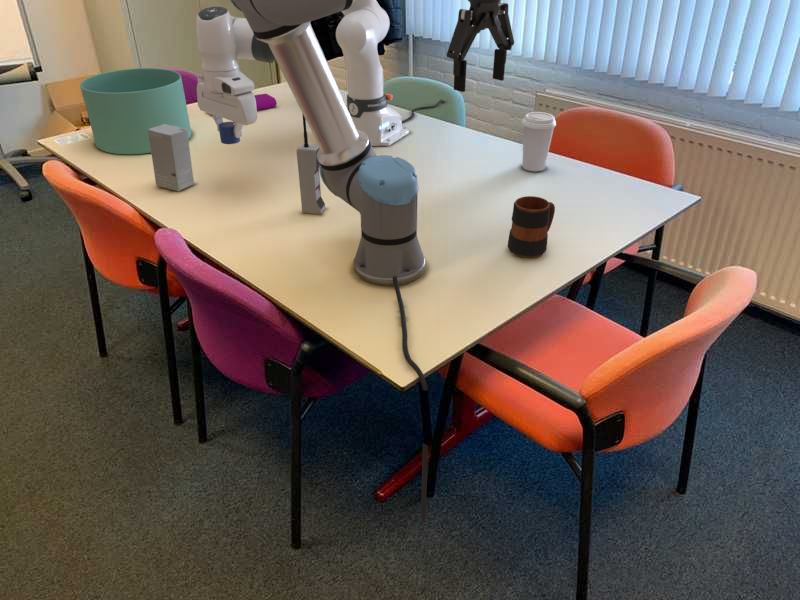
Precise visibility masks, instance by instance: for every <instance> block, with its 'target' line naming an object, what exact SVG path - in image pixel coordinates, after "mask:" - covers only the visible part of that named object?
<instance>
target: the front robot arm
mask: <svg viewBox="0 0 800 600" xmlns="http://www.w3.org/2000/svg"><path fill="white" fill-rule="evenodd" d="M229 1H230V3H232V5H233V7H235V8H236V9H237V10H238V11H240V12H242V14H243V15H244V18H246V20H247V22H248V24H249V26H250V27H251V29H252V31H253V33H254V35H255V37H256V39H257V40H260V41H263V42H265V43H268V45H269V47H270V49H271V51H272V53H273V55H274V57H275V59H276V61H275V62H276V63H277V64H278V67H279V68H280V71H281V73H282V75H283V77H284V78H285V81H286V84H287V85H288V87H289V89H290V91H291V93H292V95H293V97H294V99H295V101H296V103H297V105H298V107H299V109H300V111H301V114H302V113H303V115H304V117H305V120H306V124H307V126H308V127H309V129H310V131H311V133H312V135H313V137H314V140H315V142H316V143H317V145H319V147H320V148H319V151H318V153H317V159H318V161H319V163H320V165H319V177H320V179H321V181H322V182H323V184H324V185H325V187H326V188H327V189H328V191H329V192H330V193H331V194H333V195H334V196H335V197H338V198H339V199H340V200H342V201H344V202H345V203H346V204H347V205H349V206H350V207H352V208H353V209H354V210H355V211H357V212H358V213H359V214H360V239H359V242H358V247H357V249H356V252H355V256H354V259H353V270H354V273H355V275H356V276H357V277H358V278H359V279H360V280H362V281H364V282H366V283H369V284H370V285H371V284H372V285H376V286H382V287H394V291H395V295H396V299H397V303H398V304H397V305H398V308H399V315H400V322H401V335H402V336H401V337H402V339H401V344H402V345H401V346H402V352H403V353H402V354H403V356H404V359H405V361H406V362H407V364H408V365H409V367H411V368H412V369H413V371H414V372H415V373H416V375H417V377H418V379H419V382H420V385H421V390H422V391H424V392H425V391H426V392H427V390H428V384H427V380H426V378H425V375H424V373H423V371H422V369H421V368H420V367H419V366H418V364H416V363H415V362H414V360H413V359H412V357H411V356H410V353H409V348H408V328H407V327H408V326H407V318H406V312H405V311H406V310H405V306H404V301H403V297H402V293H401V290H400V289H401V288H400V286H402V285H406V284H410V283H413V282H415V281H417V280H418V279H420V278H421V276H423V274H424V273H425V270H426V258H425V255H424V252H423V250H422V247H421V244H420V241H419V238H418V195H419V194H418V193H419V189H420V188H419V187H420V186H419V181H418V173H417V170H416V168H415V167H414V166H413V164H412V163H410V162H409V161H407V160H406V159H404V158H401V157H398V156H396V157H393V155H385V154H384V155H383V154H382V155H381V154H380V155H377V154H376V152H375V150H374V146H372V145H371V143H370V141H369V138H368V136H367V134H366V133H364V132H362V131H358V130H357V129H356V127H355V124H354V122H353V120H352V118H351V115H350V113H349V111H348V107H347V103H346V101H345V99H344V97H343V95H342V92H341V90H340V88H339V86H338V83H337V81H336V79H335V77H334V74H333V72H332V70H331V67H330V65H329V63H328V60H327V59H326V57H325V54H324V51H323V49H322V47H321V45H320V43H319V40H318V38H317V36H316V33H315V31H314V29H313V27H312V24H311V22H313V21H316V20H319V19H322V18H325V17H329V16H331V15H333V14H337V13H340V12H342V11H343V10H347V9H349V8H351V7H352V5H353V3H354V1H355V0H229ZM467 1H468V3H469V9H464V8H459V10H458V16H457V22H456V25H455V28H454V31H453V33H452V37H451V40H450V42H449V47H448V49H447V52H446V58H449V59H450V60H452V61H453V64H452V65H453V67H452V68H453V69H452V75H453V76H454V77H453V90H454V91H456V92H461V93H465V92H466V83H467V82H466V81H467V65H468V64H467V63H468V62H467V61H468V60H466V59H465V58H466V56H467V54H468V53H469V51H470V48H471V46H472V45H473V43H474V42H475V39H476V37H477V35H478V34H480V33H481V31H485V30H486V29H488V31H489V33H490V35H491V38H492V39H493V41H494V43H495V45H496V47H497V48H495V49H494V53H493V54H494V55H493V57H494V58H493V68H492V79H493V80H496V81H504V80H505V68H506V63H507V56H508V55H507V53H508V51H512V47H513V46H514V44H515V40H514V35H513V30H512V24H511V20H510V15H509V3H507V2H503V0H467ZM303 115H302V116H303ZM428 456H429V446H428V445H427V444H425V443H424V442H422V459H421V460H422V463H421V464H422V465H421V466H422V467H421V499H420V520H421V521H425V520H426V519H427V492H428V491H427V490H428V489H427V488H428V487H427V485H428V465H429V464H428V463H429V457H428Z"/></svg>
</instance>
